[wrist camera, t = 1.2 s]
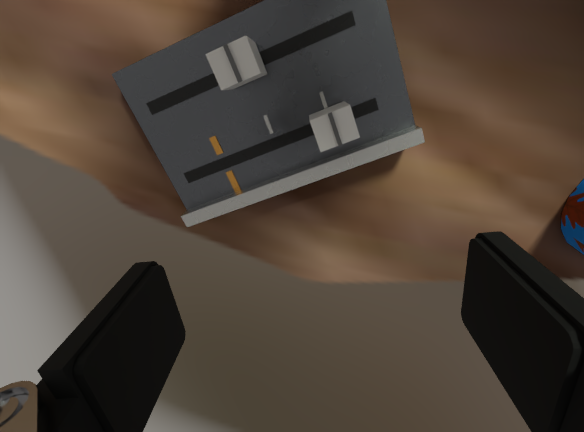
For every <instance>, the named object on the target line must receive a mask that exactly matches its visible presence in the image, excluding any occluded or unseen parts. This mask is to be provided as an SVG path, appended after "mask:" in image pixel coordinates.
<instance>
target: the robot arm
mask: <svg viewBox="0 0 584 432" xmlns="http://www.w3.org/2000/svg"><path fill="white" fill-rule="evenodd" d="M462 300H463V301H462V308H461V316H462V320H463V323H464V325H465V326H466V328H467V329H468V331H469V333H470V334H471V336H472V337H473V339H474V341H475V342H476V344H477V345H478V347H479V349H480V350H481V352H482V353H483V355H484V357H485V358H486V360H487V361H488V363H489V364H490V366H491V368H492V369H493V371H494V372H495V374H496V375H497V377H498V379H499V381H500V382H501V384H502V385H503V387H504V389H505V390H506V392H507V393H508V395H509V397H510V398H511V399H512V401H513V403H514V405H515V406H516V408H517V409H518V411H519V413H520V414H521V416H522V417H523V419H524V420H525V422H526V424H527V425H528V427H529V428H530V430H531V432H584V298H583V297H581V296H580V295H579V294H578V293H577V292H575V291H574V290H573V289H572V288H570V287H569V286H568V285H567V284H565V283H564V282H563V281H562V280H561V279H559V278H558V277H557V276H556V275H554V274H553V273H552V272H551V271H549V270H548V269H547V268H546V267H545V266H543V265H542V264H541V263H540V262H538V261H537V260H536V259H535V258H533V257H532V256H531V255H530V254H529V253H527V252H526V251H525V250H524V249H522V248H521V247H520V246H519V245H517V244H516V243H515V242H514V241H513V240H511V239H510V238H509V237H508V236H506V235H505V234H504V233H502V232H487V233H478V234H477V235H476V237H475V239H471V240H470V242H469V249H468V258H467V266H466V274H465V283H464V292H463V299H462ZM184 340H185V328H184V325H183V322H182V319H181V317H180V314H179V311H178V308H177V305H176V302H175V299H174V296H173V294H172V291H171V288H170V285H169V282H168V279H167V276H166V273H165V270H164V268H163V267H162V266H161V265H158V264H157V263H156V262H154V261H151V262H140V263H135V264H134V265H133V266H132V267H131V268H130V269H129V270H128V271H127V273H126V274H125V275H124V276H123V277H122V278H121V279H120V280H119V281H118V282H117V284H116V285H115V286H114V287H113V288H112V289H111V290H110V291H109V292H108V294H106V296H105V297H104V298H103V299H102V300H101V301H100V302H99V303H98V304H97V305H96V307H95V308H94V309H93V310H92V311H91V312H90V313H89V314H88V315H87V317H86V318H85V319H84V320H83V321H82V322H81V323H80V324H79V325H78V326H77V328H76V329H75V330H74V331H73V332H72V333H71V334H70V335H69V336H68V338H67V339H66V340H65V341H64V342H63V343H62V344H61V345H60V346H59V347H58V348H57V350H56V351H55V352H54V353H53V354H52V355H51V356H50V357H49V358H48V360H47V361H46V362H45V363H44V364H43V365H42V366H41V367H40V368H39V369H38V372H39V374H40V376H41V377H42V380H41V381H40V382H39V383H38V384H37V385H36V384H34V383H32V382H30V381H20V382H16V383H11V384H9V385H6V386H4V387H2V388H0V432H143V430H144V428H145V425H146V423H147V421H148V419H149V417H150V415H151V412H152V410H153V408H154V406H155V404H156V402H157V399H158V397H159V395H160V393H161V390H162V388H163V386H164V384H165V382H166V379H167V378H168V375H169V373H170V371H171V369H172V366H173V365H174V362H175V360H176V358H177V356H178V354H179V351H180V349H181V347H182V345H183V343H184Z"/></svg>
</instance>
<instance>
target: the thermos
mask: <svg viewBox="0 0 584 432" xmlns="http://www.w3.org/2000/svg"><path fill="white" fill-rule="evenodd" d="M561 230H562V233H563V235H564V237H565V239H566V241H567V243H569V244H570V245H571V246H573V247H574V248H575V249H577V250H578V251H579V252H581V253H582V254H584V179H583V180H582V181H581V183H580V184H579V185H578V186H577V187H576V188H575V190H574V191H573V192H572V193H571V194H570V196H569V197H568V200H567V202H566V204H565V206H564V209H563V211H562V214H561Z"/></svg>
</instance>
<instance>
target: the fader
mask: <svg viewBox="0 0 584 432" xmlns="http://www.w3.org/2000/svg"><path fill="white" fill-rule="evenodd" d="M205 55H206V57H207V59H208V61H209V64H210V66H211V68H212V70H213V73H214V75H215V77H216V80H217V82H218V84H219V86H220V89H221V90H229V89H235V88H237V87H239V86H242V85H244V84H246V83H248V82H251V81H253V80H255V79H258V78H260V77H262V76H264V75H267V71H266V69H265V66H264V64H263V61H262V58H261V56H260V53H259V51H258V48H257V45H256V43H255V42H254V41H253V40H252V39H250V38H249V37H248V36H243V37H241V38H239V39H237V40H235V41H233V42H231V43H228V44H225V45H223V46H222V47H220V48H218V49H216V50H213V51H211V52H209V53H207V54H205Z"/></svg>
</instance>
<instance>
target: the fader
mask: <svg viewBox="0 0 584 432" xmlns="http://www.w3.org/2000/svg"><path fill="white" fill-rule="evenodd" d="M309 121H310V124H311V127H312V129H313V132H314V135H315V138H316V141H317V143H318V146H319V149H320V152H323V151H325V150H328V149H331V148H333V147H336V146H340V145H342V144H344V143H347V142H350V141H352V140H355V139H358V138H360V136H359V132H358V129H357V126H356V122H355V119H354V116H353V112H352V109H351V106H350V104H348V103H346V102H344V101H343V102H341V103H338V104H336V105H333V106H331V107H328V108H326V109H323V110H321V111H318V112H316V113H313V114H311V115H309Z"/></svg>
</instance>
